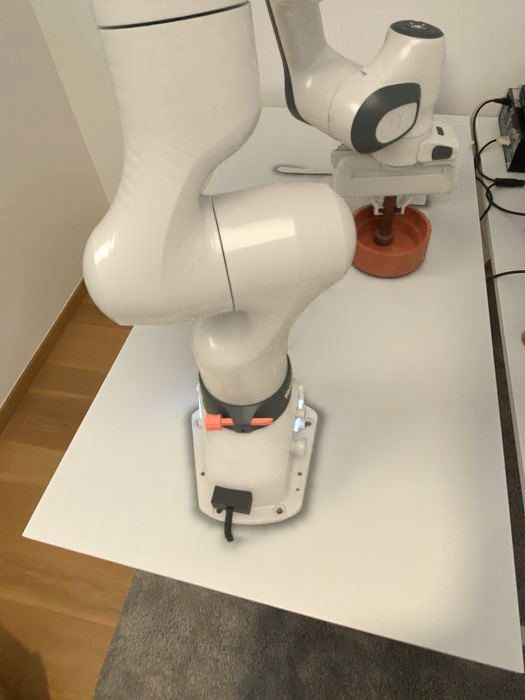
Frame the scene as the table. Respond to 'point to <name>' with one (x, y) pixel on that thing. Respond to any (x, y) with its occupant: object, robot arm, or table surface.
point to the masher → (386, 222)
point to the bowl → (397, 255)
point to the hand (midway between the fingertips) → (388, 212)
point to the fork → (302, 170)
